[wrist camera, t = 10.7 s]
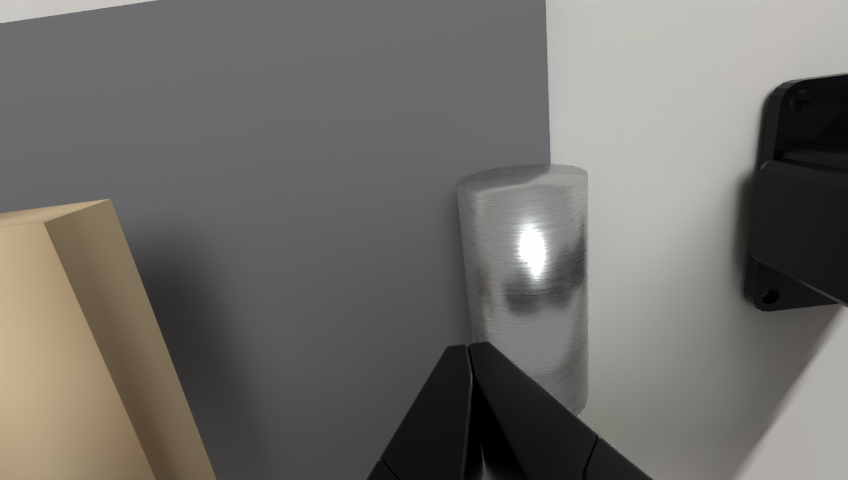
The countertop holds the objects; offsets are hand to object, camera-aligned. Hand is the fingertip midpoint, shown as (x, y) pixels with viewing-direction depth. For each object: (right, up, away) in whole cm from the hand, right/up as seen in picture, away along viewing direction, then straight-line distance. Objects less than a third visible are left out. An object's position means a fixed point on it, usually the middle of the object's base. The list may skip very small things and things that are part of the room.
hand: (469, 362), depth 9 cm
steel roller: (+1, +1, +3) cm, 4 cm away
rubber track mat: (-12, 0, +5) cm, 13 cm away
